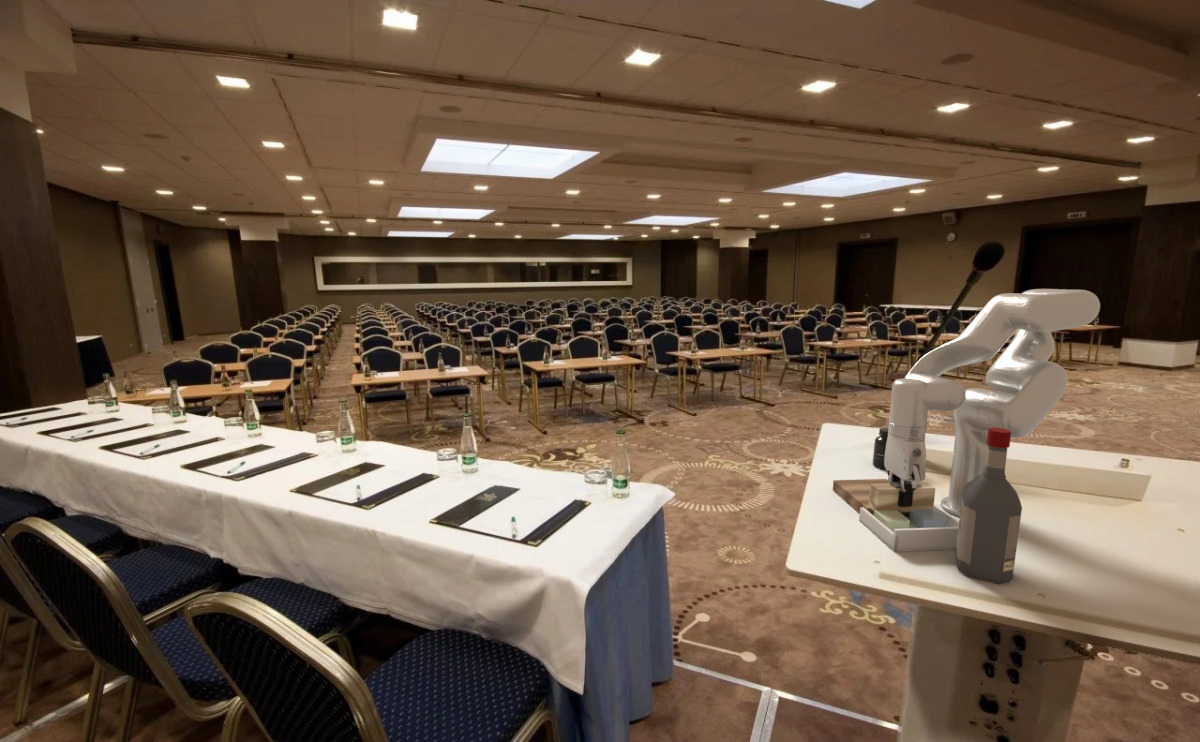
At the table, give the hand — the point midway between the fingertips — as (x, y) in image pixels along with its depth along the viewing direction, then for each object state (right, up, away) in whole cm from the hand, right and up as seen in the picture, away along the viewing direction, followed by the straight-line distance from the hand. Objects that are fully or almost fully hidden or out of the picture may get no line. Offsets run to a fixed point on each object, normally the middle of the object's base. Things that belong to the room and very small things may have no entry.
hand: (899, 501), depth 131 cm
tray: (0, -6, -6) cm, 8 cm away
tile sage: (-4, -5, -4) cm, 8 cm away
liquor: (+5, -9, -21) cm, 24 cm away
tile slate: (+5, -5, -4) cm, 8 cm away
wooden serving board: (0, -3, +11) cm, 11 cm away
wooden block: (0, -2, 0) cm, 2 cm away
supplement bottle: (+16, +2, +37) cm, 40 cm away
